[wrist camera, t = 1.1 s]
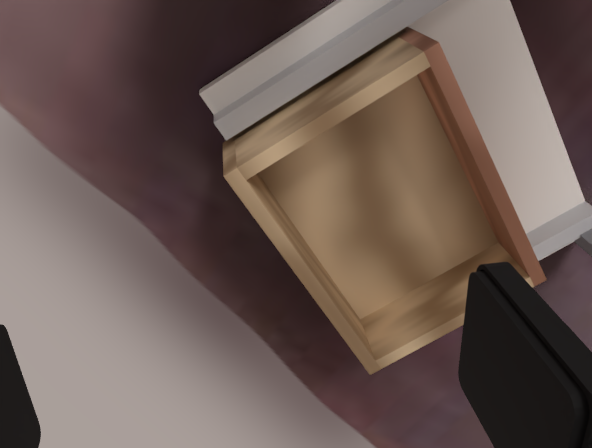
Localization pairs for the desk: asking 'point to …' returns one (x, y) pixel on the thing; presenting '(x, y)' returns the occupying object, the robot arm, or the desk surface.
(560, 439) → the robot arm
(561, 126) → the desk surface
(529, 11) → the desk surface
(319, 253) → the crate
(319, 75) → the grey flat slab
